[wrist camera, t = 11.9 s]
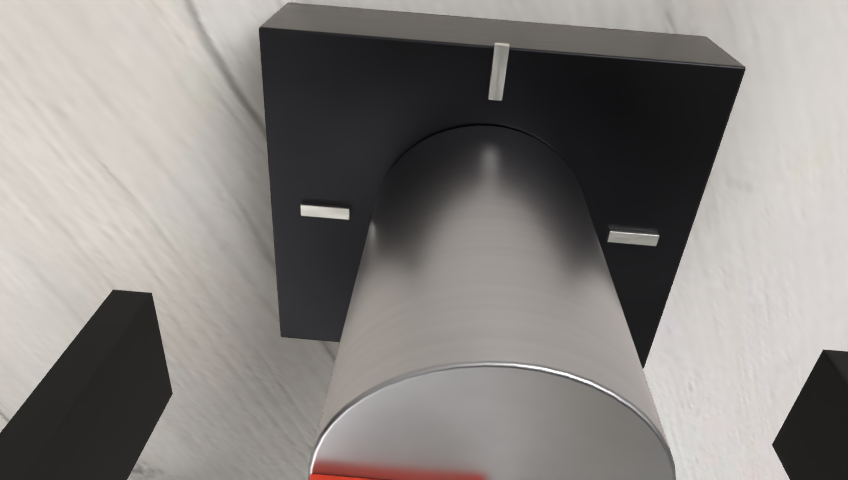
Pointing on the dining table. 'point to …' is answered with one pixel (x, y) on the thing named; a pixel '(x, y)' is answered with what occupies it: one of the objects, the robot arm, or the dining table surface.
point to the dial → (486, 330)
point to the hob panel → (483, 106)
